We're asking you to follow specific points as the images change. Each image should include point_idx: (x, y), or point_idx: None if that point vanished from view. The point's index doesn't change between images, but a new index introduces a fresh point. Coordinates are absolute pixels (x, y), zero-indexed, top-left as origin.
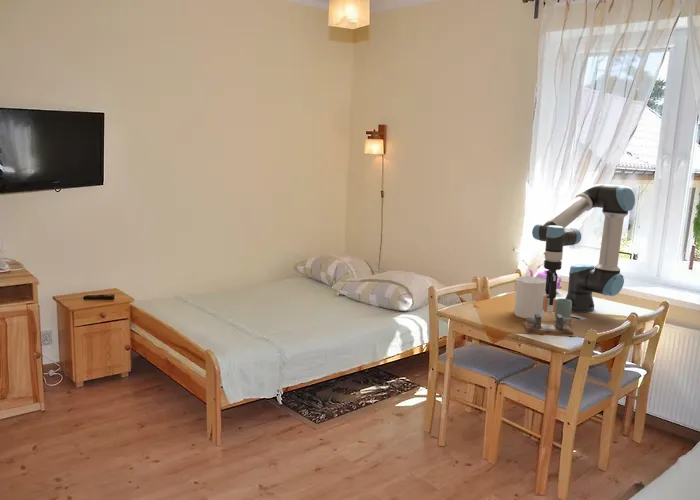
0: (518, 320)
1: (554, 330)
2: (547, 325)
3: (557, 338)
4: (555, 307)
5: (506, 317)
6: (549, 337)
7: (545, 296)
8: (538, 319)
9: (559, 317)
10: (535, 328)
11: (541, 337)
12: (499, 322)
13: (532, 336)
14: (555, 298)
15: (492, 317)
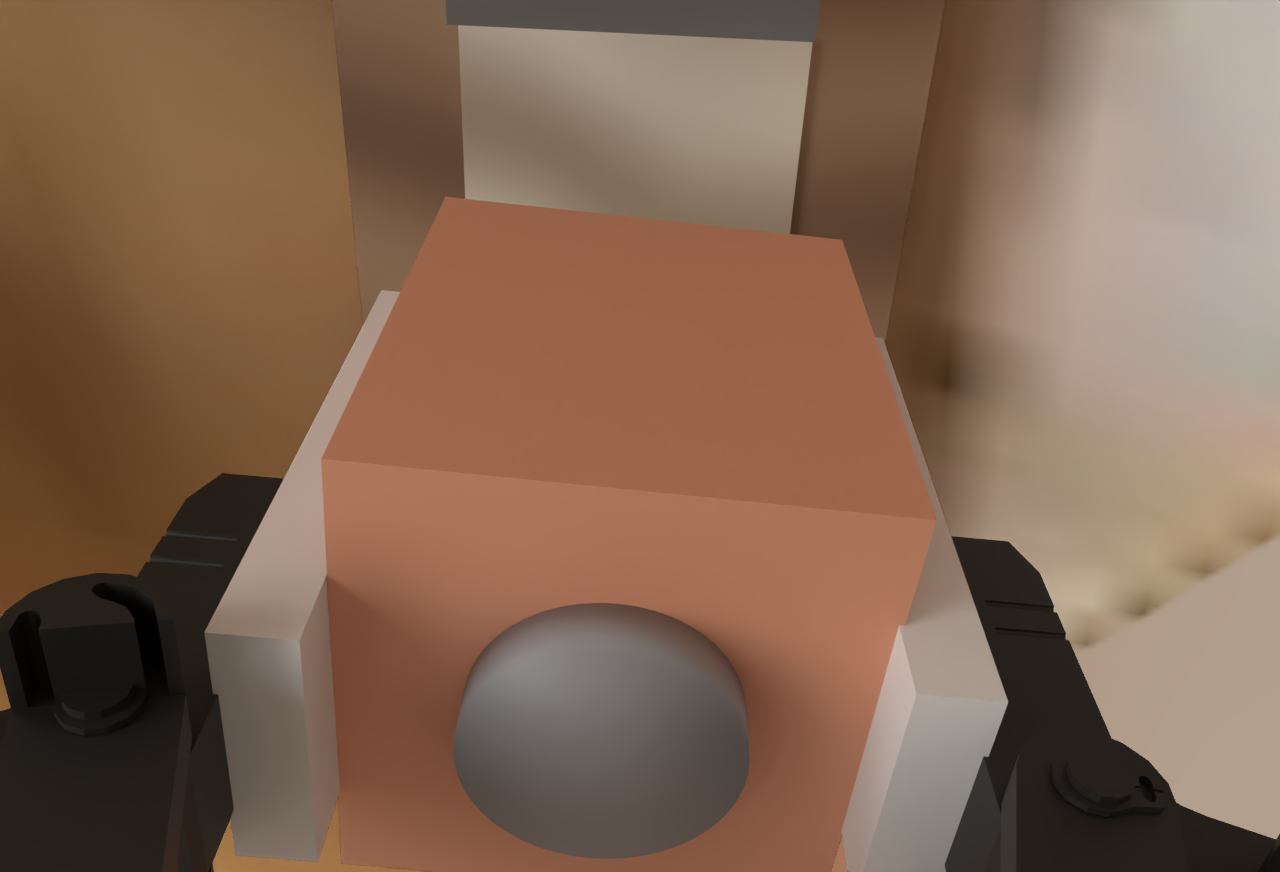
0: (123, 558)
1: (894, 97)
2: (543, 171)
3: (1252, 113)
4: (863, 334)
5: (6, 694)
6: (1159, 262)
7: (382, 812)
8: None
9: (813, 27)
10: None
11: (1134, 407)
12: (335, 819)
13: (1058, 536)
14: (706, 515)
15: None
